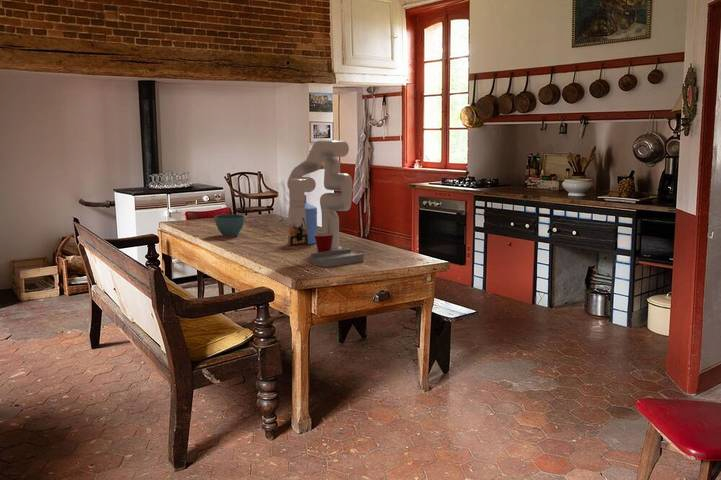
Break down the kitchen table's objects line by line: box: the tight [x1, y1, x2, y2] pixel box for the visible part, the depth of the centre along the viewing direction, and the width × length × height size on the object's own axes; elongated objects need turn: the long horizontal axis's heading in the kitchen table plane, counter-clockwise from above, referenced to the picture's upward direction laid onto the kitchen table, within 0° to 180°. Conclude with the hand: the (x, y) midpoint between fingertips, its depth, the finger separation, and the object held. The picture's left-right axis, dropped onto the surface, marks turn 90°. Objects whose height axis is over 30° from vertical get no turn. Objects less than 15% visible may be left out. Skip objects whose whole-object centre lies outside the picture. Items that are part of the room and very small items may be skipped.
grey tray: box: [310, 247, 365, 268], centre depth 331 cm, size 12×24×5 cm, turn 128°
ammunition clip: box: [287, 223, 309, 248], centre depth 329 cm, size 11×2×12 cm, turn 128°
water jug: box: [291, 194, 318, 245], centre depth 386 cm, size 16×16×28 cm
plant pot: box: [214, 214, 245, 238], centre depth 411 cm, size 18×18×12 cm
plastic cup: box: [314, 232, 334, 253], centre depth 348 cm, size 11×11×12 cm
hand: (298, 239), depth 330 cm, fingers closed on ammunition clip, 2 cm apart
